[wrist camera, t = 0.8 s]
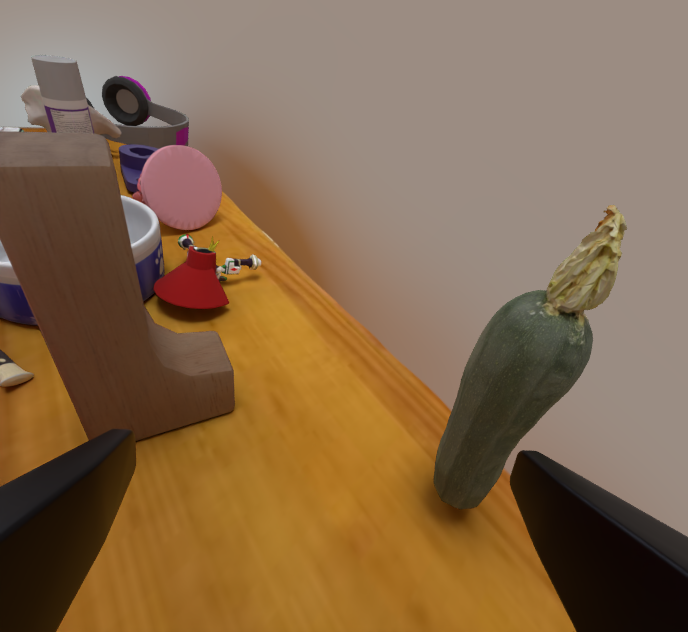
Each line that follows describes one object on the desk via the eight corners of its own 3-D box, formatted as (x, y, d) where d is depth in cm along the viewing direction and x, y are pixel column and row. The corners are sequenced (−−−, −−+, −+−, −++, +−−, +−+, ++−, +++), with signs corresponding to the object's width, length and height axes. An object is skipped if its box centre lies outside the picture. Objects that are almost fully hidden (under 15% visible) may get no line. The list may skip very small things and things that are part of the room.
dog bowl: (21, 238, 41) (-1, 182, 37) (175, 243, 45) (168, 193, 41) (-63, 331, 30) (-107, 264, 26) (153, 327, 33) (141, 268, 30)
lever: (122, 162, 61) (121, 141, 59) (166, 168, 64) (165, 148, 62) (115, 191, 52) (112, 168, 51) (165, 196, 55) (164, 174, 53)
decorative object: (120, 152, 65) (106, 85, 59) (129, 159, 64) (116, 90, 58) (38, 159, 58) (13, 83, 52) (45, 166, 56) (21, 89, 50)
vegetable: (446, 547, 23) (668, 256, 11) (394, 491, 25) (527, 199, 13) (484, 502, 26) (697, 228, 13) (433, 455, 28) (576, 184, 16)
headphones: (38, 137, 64) (154, 176, 65) (26, 79, 59) (152, 122, 60) (115, 115, 80) (207, 146, 82) (111, 67, 75) (209, 102, 76)
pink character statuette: (124, 184, 41) (87, 178, 48) (188, 246, 48) (146, 233, 55) (184, 126, 44) (140, 129, 51) (235, 193, 51) (190, 187, 58)
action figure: (258, 284, 43) (267, 238, 41) (224, 322, 34) (232, 265, 32) (180, 261, 43) (184, 214, 40) (124, 293, 34) (125, 234, 31)
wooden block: (220, 370, 31) (204, 134, 20) (236, 412, 28) (228, 162, 17) (90, 403, 27) (-19, 128, 16) (93, 456, 24) (-37, 164, 13)
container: (71, 177, 55) (35, 53, 46) (108, 179, 57) (81, 59, 48) (63, 190, 52) (24, 58, 43) (103, 191, 53) (73, 64, 44)
